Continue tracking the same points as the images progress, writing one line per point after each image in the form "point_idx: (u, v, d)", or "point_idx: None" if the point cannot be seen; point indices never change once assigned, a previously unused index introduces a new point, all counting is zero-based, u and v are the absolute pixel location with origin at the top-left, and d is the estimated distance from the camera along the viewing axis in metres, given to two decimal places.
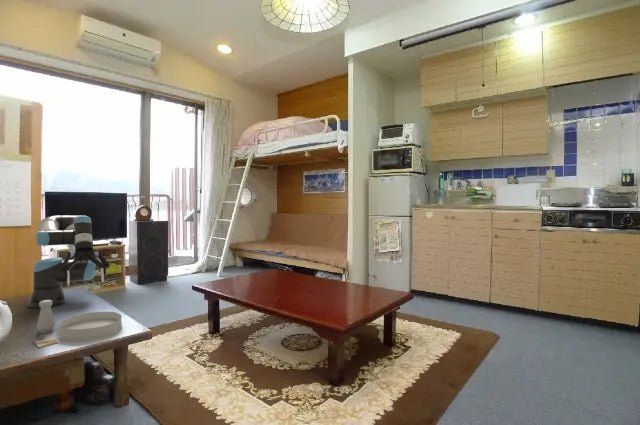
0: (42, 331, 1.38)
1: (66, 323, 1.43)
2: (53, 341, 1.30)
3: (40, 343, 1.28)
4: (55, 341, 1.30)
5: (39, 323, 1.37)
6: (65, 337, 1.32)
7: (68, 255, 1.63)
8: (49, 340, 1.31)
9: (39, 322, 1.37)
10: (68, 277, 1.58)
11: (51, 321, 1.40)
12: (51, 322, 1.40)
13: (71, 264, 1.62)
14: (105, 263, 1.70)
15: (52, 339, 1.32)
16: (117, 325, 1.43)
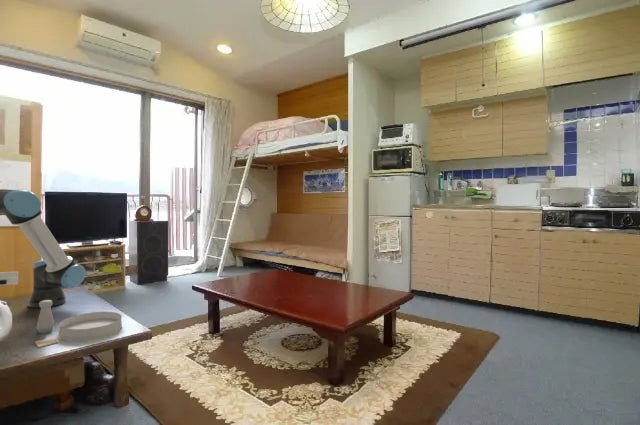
0: (42, 331, 1.38)
1: (66, 323, 1.43)
2: (53, 341, 1.30)
3: (40, 343, 1.28)
4: (55, 341, 1.30)
5: (39, 323, 1.37)
6: (65, 337, 1.32)
7: None
8: (49, 340, 1.31)
9: (39, 322, 1.37)
10: None
11: (51, 321, 1.40)
12: (51, 322, 1.40)
13: None
14: None
15: (52, 339, 1.32)
16: (117, 325, 1.43)
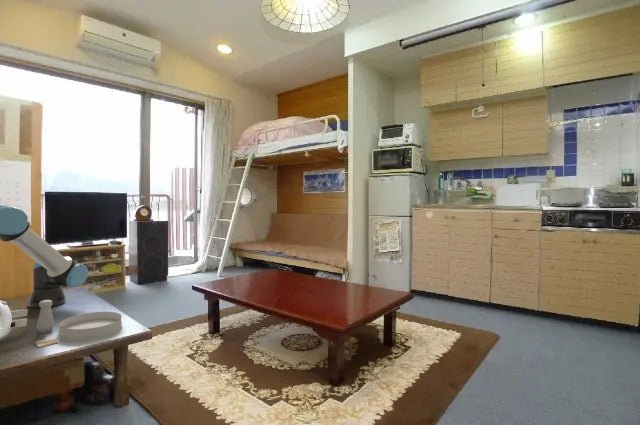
0: (42, 331, 1.38)
1: (66, 323, 1.43)
2: (53, 341, 1.30)
3: (40, 343, 1.28)
4: (55, 341, 1.30)
5: (39, 323, 1.37)
6: (65, 337, 1.32)
7: None
8: (49, 340, 1.31)
9: (39, 322, 1.37)
10: None
11: (51, 321, 1.40)
12: (51, 322, 1.40)
13: None
14: None
15: (52, 339, 1.32)
16: (117, 325, 1.43)
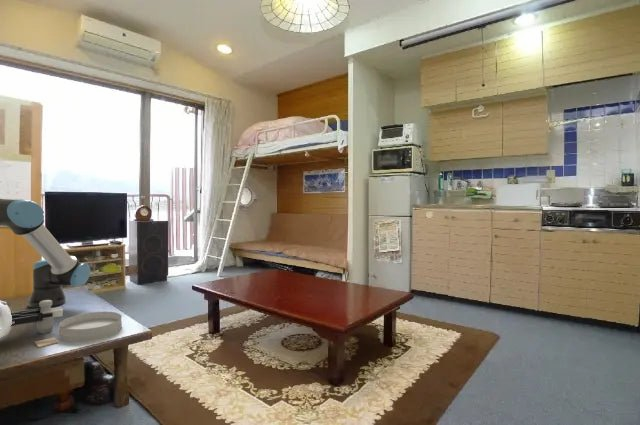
0: (42, 331, 1.38)
1: (66, 323, 1.43)
2: (53, 341, 1.30)
3: (40, 343, 1.28)
4: (55, 341, 1.30)
5: (39, 323, 1.37)
6: (65, 337, 1.32)
7: None
8: (49, 340, 1.31)
9: (39, 322, 1.37)
10: None
11: (51, 321, 1.40)
12: (51, 322, 1.40)
13: None
14: None
15: (52, 339, 1.32)
16: (117, 325, 1.43)
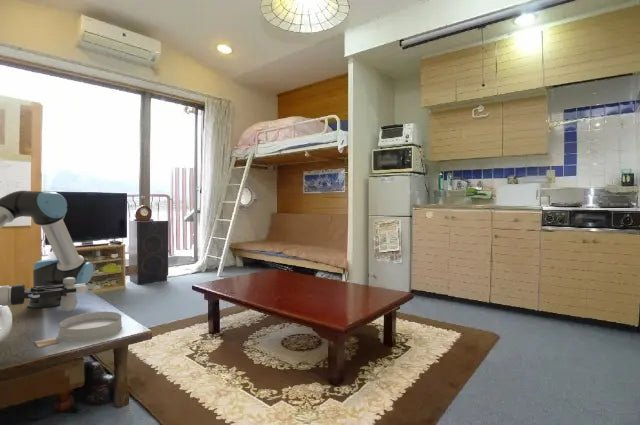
0: (65, 308, 1.37)
1: (66, 323, 1.43)
2: (53, 341, 1.30)
3: (40, 343, 1.28)
4: (55, 341, 1.30)
5: (62, 300, 1.37)
6: (65, 337, 1.32)
7: None
8: (49, 340, 1.31)
9: (62, 299, 1.37)
10: None
11: (74, 298, 1.39)
12: (74, 299, 1.39)
13: None
14: (57, 295, 1.34)
15: (52, 339, 1.32)
16: (117, 325, 1.43)
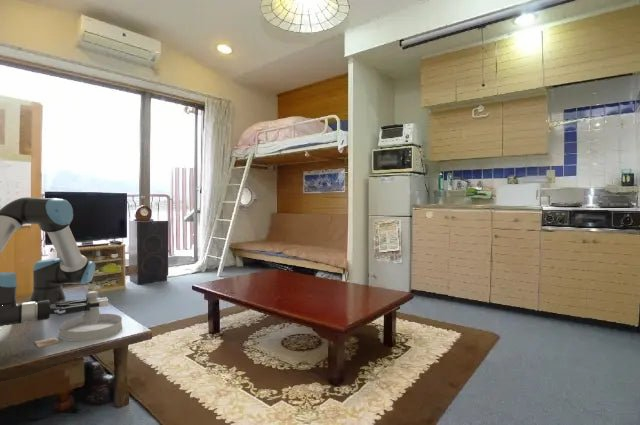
0: (89, 321, 1.40)
1: (66, 325, 1.43)
2: (53, 341, 1.30)
3: (40, 343, 1.28)
4: (55, 341, 1.30)
5: (86, 314, 1.40)
6: (65, 339, 1.32)
7: None
8: (49, 340, 1.31)
9: (86, 312, 1.40)
10: None
11: (97, 312, 1.42)
12: (97, 313, 1.42)
13: None
14: (82, 310, 1.37)
15: (52, 339, 1.32)
16: (117, 327, 1.43)
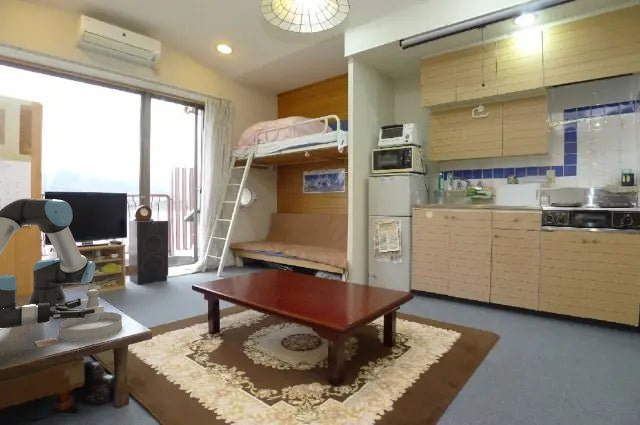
0: (89, 320, 1.41)
1: (66, 323, 1.43)
2: (53, 341, 1.30)
3: (40, 343, 1.28)
4: (55, 341, 1.30)
5: None
6: (65, 337, 1.33)
7: None
8: (49, 340, 1.31)
9: None
10: None
11: None
12: None
13: None
14: None
15: (52, 339, 1.32)
16: (117, 325, 1.44)
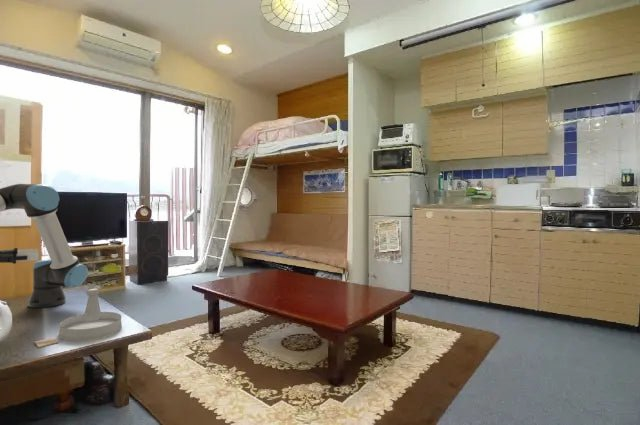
0: (90, 319, 1.41)
1: (66, 323, 1.43)
2: (53, 341, 1.30)
3: (40, 343, 1.28)
4: (55, 341, 1.30)
5: (87, 311, 1.41)
6: (65, 337, 1.33)
7: None
8: (49, 340, 1.31)
9: (87, 310, 1.41)
10: None
11: (98, 309, 1.43)
12: (98, 310, 1.43)
13: None
14: None
15: (52, 339, 1.32)
16: (117, 325, 1.44)
